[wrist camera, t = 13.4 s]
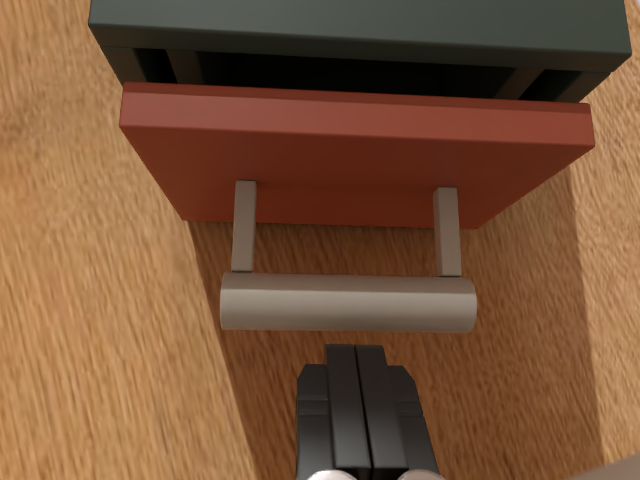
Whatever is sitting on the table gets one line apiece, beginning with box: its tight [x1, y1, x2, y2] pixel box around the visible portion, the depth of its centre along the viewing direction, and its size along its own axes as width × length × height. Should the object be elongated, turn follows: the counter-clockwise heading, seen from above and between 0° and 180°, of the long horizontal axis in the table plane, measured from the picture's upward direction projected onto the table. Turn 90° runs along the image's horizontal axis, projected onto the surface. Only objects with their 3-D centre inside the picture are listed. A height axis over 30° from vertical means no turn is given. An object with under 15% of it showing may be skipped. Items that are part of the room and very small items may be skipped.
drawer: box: [119, 49, 595, 333], centre depth 17 cm, size 18×11×8 cm, turn 179°
